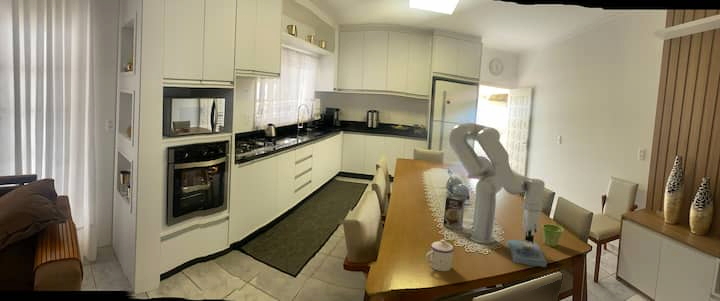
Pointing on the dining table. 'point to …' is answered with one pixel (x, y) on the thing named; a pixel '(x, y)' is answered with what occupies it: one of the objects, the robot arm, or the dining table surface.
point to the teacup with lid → (440, 255)
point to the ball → (527, 245)
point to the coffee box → (454, 212)
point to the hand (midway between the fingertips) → (528, 244)
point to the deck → (526, 254)
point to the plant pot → (551, 234)
